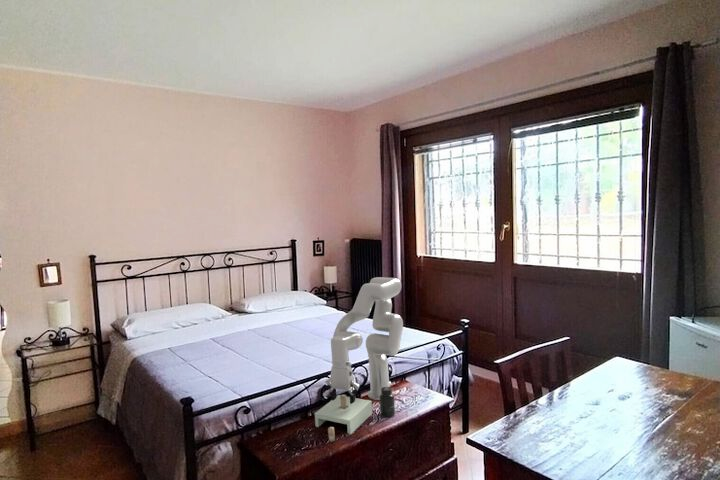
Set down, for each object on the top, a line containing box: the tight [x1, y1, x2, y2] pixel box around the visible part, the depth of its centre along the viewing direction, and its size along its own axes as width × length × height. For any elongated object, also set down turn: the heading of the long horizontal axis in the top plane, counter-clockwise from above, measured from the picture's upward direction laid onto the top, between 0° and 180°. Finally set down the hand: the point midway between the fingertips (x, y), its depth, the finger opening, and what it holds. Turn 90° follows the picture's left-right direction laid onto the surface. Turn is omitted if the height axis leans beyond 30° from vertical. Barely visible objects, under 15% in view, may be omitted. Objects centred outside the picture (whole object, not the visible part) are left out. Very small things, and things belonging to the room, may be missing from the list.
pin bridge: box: [314, 394, 373, 435], centre depth 196 cm, size 20×18×6 cm
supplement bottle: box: [379, 387, 396, 418], centre depth 198 cm, size 7×7×12 cm
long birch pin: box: [340, 394, 347, 409], centre depth 196 cm, size 2×2×11 cm
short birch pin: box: [327, 426, 336, 442], centre depth 179 cm, size 2×2×5 cm
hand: (343, 400), depth 195 cm, fingers open, 9 cm apart
